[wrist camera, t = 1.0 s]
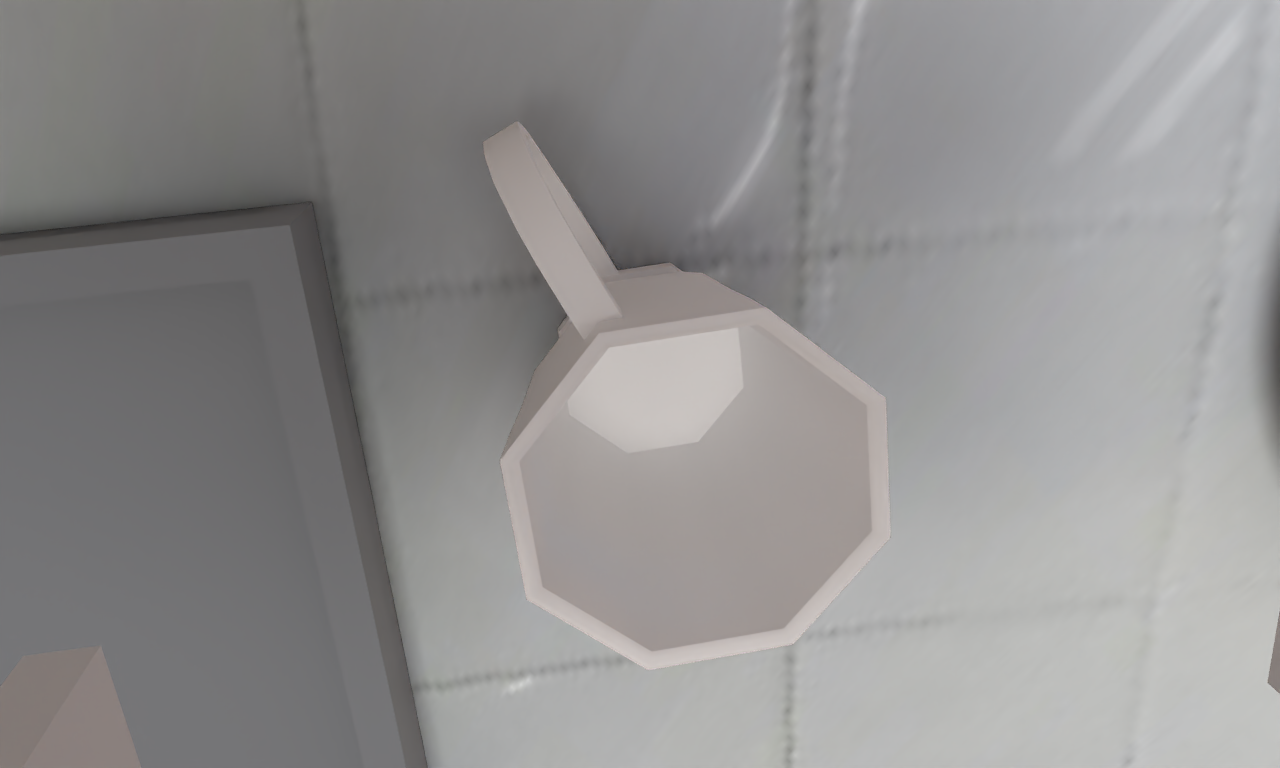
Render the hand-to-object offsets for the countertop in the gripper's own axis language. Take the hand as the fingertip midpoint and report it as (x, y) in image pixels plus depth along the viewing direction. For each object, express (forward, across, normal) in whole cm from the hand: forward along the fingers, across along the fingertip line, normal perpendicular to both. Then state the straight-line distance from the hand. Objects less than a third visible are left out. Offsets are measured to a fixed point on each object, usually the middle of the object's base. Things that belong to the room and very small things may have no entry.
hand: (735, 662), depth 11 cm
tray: (+14, -14, -7) cm, 21 cm away
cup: (+14, 0, 0) cm, 14 cm away
